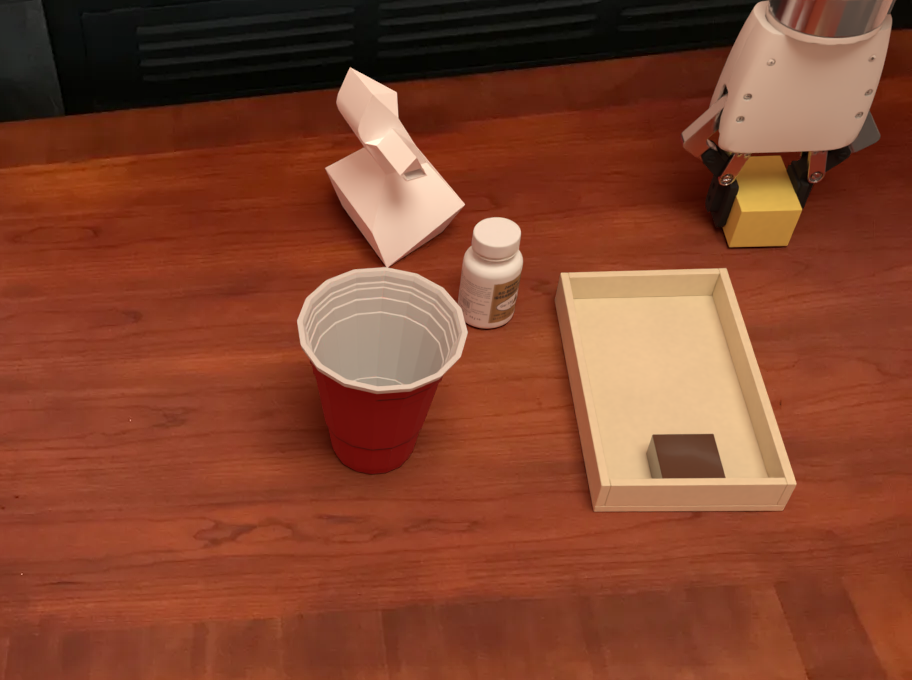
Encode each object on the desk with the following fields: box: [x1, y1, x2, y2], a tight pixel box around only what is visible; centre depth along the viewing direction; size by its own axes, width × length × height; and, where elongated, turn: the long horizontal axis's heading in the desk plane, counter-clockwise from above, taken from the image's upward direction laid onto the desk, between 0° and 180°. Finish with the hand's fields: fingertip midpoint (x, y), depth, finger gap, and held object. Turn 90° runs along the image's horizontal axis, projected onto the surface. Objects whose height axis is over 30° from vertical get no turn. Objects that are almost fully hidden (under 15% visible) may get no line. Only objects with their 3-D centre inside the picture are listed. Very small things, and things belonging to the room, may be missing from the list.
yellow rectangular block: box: [721, 155, 803, 248], centre depth 92 cm, size 4×7×4 cm, turn 176°
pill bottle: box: [457, 216, 524, 329], centre depth 87 cm, size 4×4×8 cm
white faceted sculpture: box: [324, 67, 466, 268], centre depth 92 cm, size 8×14×14 cm, turn 19°
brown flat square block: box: [646, 434, 726, 479], centre depth 77 cm, size 4×4×2 cm
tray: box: [554, 267, 797, 513], centre depth 82 cm, size 12×21×3 cm, turn 176°
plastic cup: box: [296, 266, 469, 475], centre depth 78 cm, size 11×11×12 cm
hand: (750, 213), depth 93 cm, fingers closed on yellow rectangular block, 4 cm apart
